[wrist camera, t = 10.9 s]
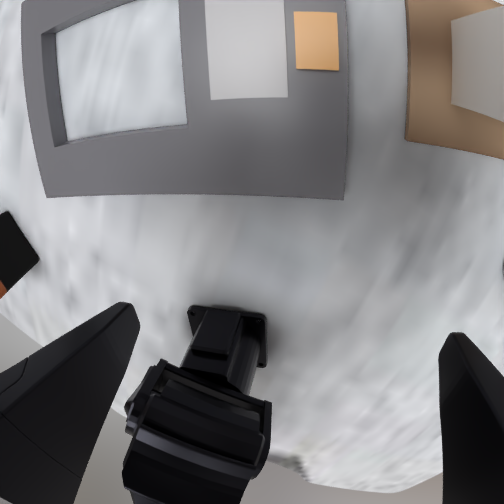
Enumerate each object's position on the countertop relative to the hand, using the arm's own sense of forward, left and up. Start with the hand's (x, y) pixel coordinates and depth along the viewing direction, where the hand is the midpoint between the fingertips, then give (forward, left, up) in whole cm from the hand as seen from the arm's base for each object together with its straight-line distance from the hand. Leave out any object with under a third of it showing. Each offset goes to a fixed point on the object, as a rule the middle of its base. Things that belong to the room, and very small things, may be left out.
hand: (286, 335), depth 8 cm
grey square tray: (+8, +9, -12) cm, 17 cm away
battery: (-6, +30, -12) cm, 33 cm away
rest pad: (+8, -10, -12) cm, 18 cm away
